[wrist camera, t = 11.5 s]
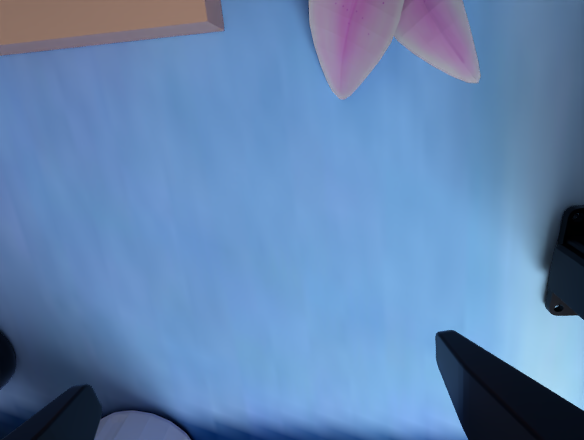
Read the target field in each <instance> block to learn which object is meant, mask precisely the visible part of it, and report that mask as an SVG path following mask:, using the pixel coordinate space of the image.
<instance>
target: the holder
mask: <svg viewBox="0 0 584 440" xmlns="http://www.w3.org/2000/svg"><path fill="white" fill-rule="evenodd" d="M218 31H225V30H224V23H223V15H222V8H221V0H0V56H2V55H11V54H20V53H29V52H38V51H47V50H56V49H65V48H74V47H83V46H92V45H101V44H110V43H119V42H128V41H137V40H146V39H155V38H164V37H173V36H182V35H191V34H200V33H209V32H218Z"/></svg>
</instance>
